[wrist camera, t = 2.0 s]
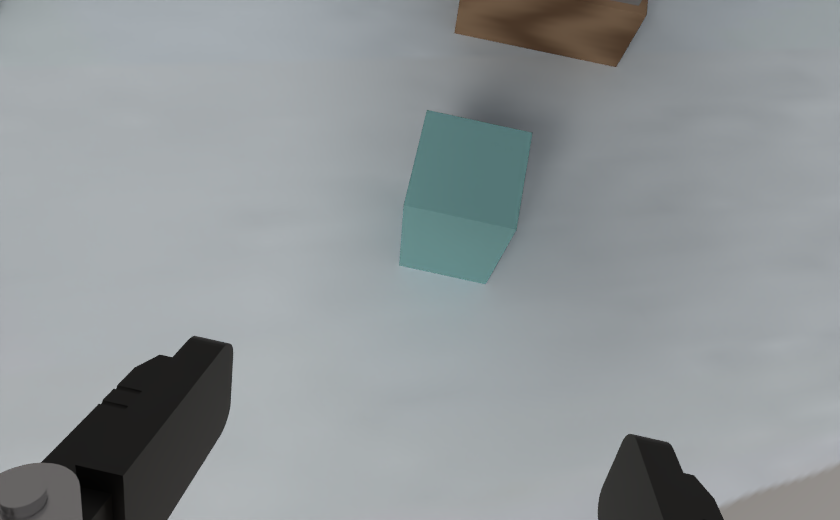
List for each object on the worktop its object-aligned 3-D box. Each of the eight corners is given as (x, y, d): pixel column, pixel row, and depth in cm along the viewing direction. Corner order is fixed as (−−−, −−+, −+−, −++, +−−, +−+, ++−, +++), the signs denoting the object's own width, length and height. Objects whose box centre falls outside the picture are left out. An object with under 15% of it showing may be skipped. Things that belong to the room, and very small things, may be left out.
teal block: (399, 265, 32) (403, 205, 25) (417, 188, 34) (427, 110, 26) (485, 284, 32) (516, 229, 25) (499, 206, 34) (532, 132, 26)
